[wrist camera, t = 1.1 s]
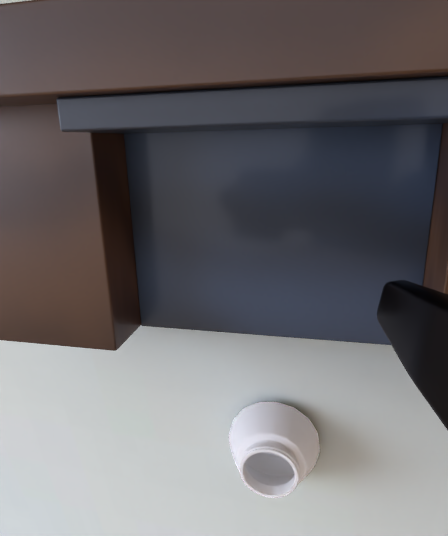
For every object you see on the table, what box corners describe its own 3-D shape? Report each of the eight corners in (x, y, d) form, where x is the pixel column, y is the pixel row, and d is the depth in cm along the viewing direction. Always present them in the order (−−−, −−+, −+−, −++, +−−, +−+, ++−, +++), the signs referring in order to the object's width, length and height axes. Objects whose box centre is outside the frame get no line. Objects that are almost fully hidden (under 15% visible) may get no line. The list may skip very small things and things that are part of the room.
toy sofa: (541, 322, 19) (703, 456, 11) (69, 293, 24) (-56, 369, 16) (606, 23, 15) (919, -103, 7) (36, 66, 20) (-145, 19, 12)
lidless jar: (338, 435, 23) (265, 381, 23) (340, 475, 20) (257, 414, 20) (283, 485, 25) (215, 435, 25) (278, 529, 22) (202, 472, 22)
